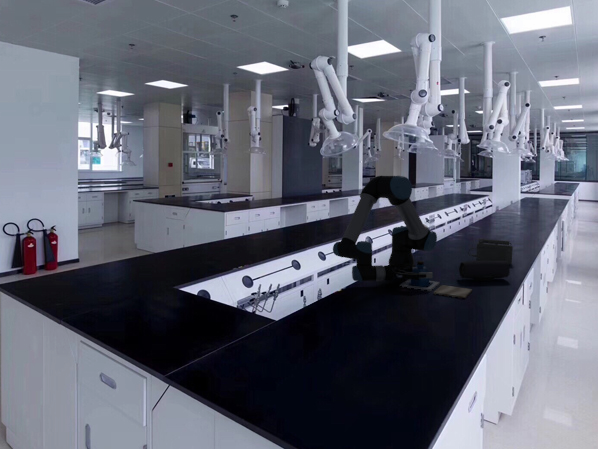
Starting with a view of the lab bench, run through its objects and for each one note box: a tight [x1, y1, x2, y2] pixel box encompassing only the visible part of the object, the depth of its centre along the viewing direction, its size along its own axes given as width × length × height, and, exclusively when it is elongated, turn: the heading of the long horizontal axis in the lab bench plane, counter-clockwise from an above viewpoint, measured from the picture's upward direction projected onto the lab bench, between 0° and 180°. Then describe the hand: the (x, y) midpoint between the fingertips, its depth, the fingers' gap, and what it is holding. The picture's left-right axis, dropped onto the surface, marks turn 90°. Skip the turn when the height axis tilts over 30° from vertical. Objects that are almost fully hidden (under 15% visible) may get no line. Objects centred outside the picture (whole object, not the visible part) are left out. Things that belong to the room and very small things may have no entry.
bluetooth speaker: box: [458, 260, 511, 282], centre depth 226 cm, size 23×9×10 cm, turn 92°
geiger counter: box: [467, 237, 514, 265], centre depth 267 cm, size 14×6×25 cm
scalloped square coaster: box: [399, 279, 441, 292], centre depth 217 cm, size 15×15×1 cm
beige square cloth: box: [432, 284, 473, 299], centre depth 204 cm, size 14×14×1 cm
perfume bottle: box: [410, 260, 430, 287], centre depth 216 cm, size 6×6×12 cm
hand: (428, 272), depth 216 cm, fingers open, 10 cm apart
